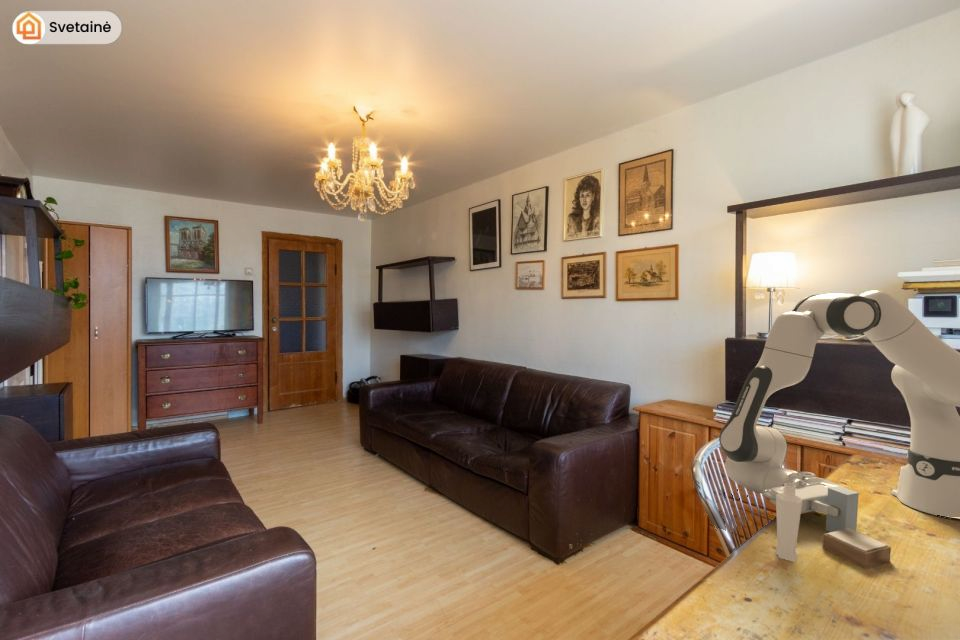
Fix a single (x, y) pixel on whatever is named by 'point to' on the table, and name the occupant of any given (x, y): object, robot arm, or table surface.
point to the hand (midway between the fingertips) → (846, 511)
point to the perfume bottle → (787, 522)
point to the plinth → (857, 547)
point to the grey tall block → (842, 509)
